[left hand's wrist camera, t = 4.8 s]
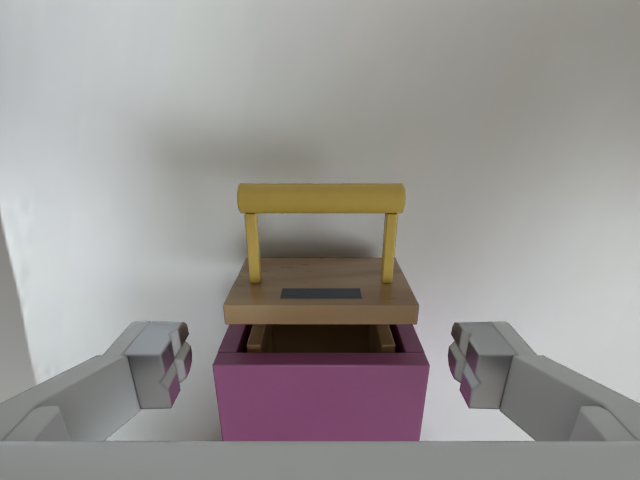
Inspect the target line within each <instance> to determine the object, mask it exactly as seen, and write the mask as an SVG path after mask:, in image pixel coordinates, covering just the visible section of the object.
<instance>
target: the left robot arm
mask: <svg viewBox="0 0 640 480" xmlns="http://www.w3.org/2000/svg"><path fill="white" fill-rule="evenodd" d="M188 335H189V332H188V328H187V324H186V323H184V322H155V321H152V322H150V321H136V322H133V323H131V324H130V325H129V326H128V327H127V329H126V330H125V331H124V332H123V333H122V334H121V335H120V336H119V337H118V339H117V340H116V341H115V342H114V343H113V344H112V345H111V346H110V348H109V349H108V350H107V351H106V352H105V353H104V354H103V355H99V356H95V357H93V358H91V359H89V360H87V361H85V362H83V363H81V364H79V365H77V366H75V367H73V368H71V369H69V370H67V371H65V372H63V373H61V374H59V375H57V376H55V377H53V378H51V379H49V380H47V381H45V382H43V383H41V384H39V385H37V386H35V387H33V388H31V389H28V390H27V391H24V392H22V393H20V394H18V395H16V396H14V397H12V398H10V399H8V400H6V401H4V402H2V403H0V480H640V404H639V403H637V402H635V401H633V400H631V399H629V398H627V397H625V396H623V395H621V394H619V393H617V392H615V391H613V390H611V389H609V388H607V387H605V386H603V385H601V384H599V383H597V382H595V381H593V380H591V379H589V378H587V377H585V376H583V375H581V374H579V373H577V372H575V371H573V370H571V369H569V368H567V367H565V366H563V365H561V364H559V363H557V362H555V361H553V360H551V359H549V358H547V357H545V356H541V355H537V354H536V353H535V352H534V351H533V350H532V349H531V348H530V346H529V345H528V344H527V343H526V342H525V341H524V340H523V339H522V338H521V336H520V335H519V334H518V333H517V332H516V331H515V330H514V329H513V327H512V326H511V325H510V324H509V323H507V322H505V321H494V322H459V323H454V325H453V327H452V332H451V335H452V336H453V338H454V340H455V341H454V342H453V343H452V344H451V345H450V346H449V352H448V361H449V367H450V371H451V373H452V375H453V377H454V379H456V380H457V381H458V382H460V383H461V385H460V392H461V393H462V395H463V397H464V399H465V401H466V403H467V405H468V407H469V408H476V409H500V411H501V412H502V413H503V414H504V415H506V416H507V417H508V418H509V419H510V420H512V421H513V422H514V423H515V424H516V425H517V426H519V427H520V428H521V429H522V430H523V431H525V432H526V433H527V434H528V435H529V436H531V437H532V438H533V439H534V440H535V441H105V440H106V439H107V438H108V437H109V436H111V435H112V434H113V433H114V432H115V431H117V430H118V429H119V428H120V427H121V426H123V425H124V424H125V423H126V422H127V421H129V420H130V419H131V418H132V417H133V416H135V415H136V414H137V413H138V412H139V411H140V409H163V408H171V407H172V405H173V403H174V401H175V399H176V397H177V395H178V393H179V392H180V385H179V383H180V382H182V381H183V380H184V379H186V377H187V375H188V373H189V371H190V367H191V362H192V351H191V346H190V345H189V344H188V343H187V342H186V341H185V340H186V338H187V336H188Z"/></svg>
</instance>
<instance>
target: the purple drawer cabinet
mask: <svg viewBox="0 0 640 480" xmlns="http://www.w3.org/2000/svg"><path fill="white" fill-rule="evenodd" d="M252 327H253V324H230V325H229V327H228V329H227V332H226V334H225V336H224V339H223V341H222V343H221V346H220V348H219V350H218V354H217V356H216V358H215V361H214V363H213V373H214V380H215V387H216V394H217V402H218V409H219V416H220V424H221V431H222V438H223V441H419V439H420V432H421V425H422V418H423V411H424V403H425V396H426V389H427V382H428V375H429V368H430V365H429V363H428V360H427V358H426V355H425V353H424V350H423V348H422V346H421V343H420V341H419V339H418V336H417V334H416V332H415V329H414V327H413V325H412V324H389V327H390V330H391V333H392V337H393V340H394V343H395V353H247V343H248V340H249V336H250V333H251V330H252Z"/></svg>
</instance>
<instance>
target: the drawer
mask: <svg viewBox="0 0 640 480" xmlns="http://www.w3.org/2000/svg"><path fill="white" fill-rule="evenodd" d="M237 202H238V208H239V211H240V213H245V226H246V238H247V251H248V258H246V260H245V262H244V264H243V266H242V268H241V271H240V273H239V275H238V277H237V279H236V281H235V283H234V285H233V287H232V289H231V291H230V293H229V295H228V297H227V299H226V301H225V303H224V305H223V308H224V317H225V324H253V327H252V330H251V333H250V336H249V340H248V343H247V353H395V343H394V340H393V337H392V333H391V330H390V327H389V324H417V320H418V311H419V304H418V302H417V300H416V298H415V296H414V294H413V292H412V290H411V288H410V286H409V284H408V282H407V280H406V278H405V276H404V274H403V272H402V270H401V268H400V266H399V264H398V262H397V260H396V259H395V258H394V253H395V241H396V229H397V217H398V215H397V213H402V212H403V209H404V205H405V189H404V185H403V184H239V186H238V191H237ZM257 213H385V222H384V236H383V251H382V258H260V248H259V234H258V219H257Z"/></svg>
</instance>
